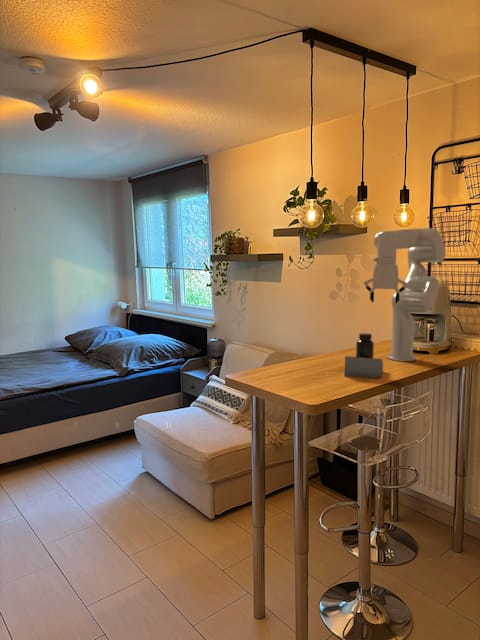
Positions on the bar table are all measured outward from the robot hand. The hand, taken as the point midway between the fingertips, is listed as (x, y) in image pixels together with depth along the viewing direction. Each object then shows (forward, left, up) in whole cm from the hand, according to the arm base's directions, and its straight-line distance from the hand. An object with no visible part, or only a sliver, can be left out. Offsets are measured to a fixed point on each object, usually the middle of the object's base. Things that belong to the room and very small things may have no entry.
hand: (384, 302), depth 195 cm
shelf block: (+13, -6, -28) cm, 32 cm away
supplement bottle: (+12, -6, -24) cm, 28 cm away
